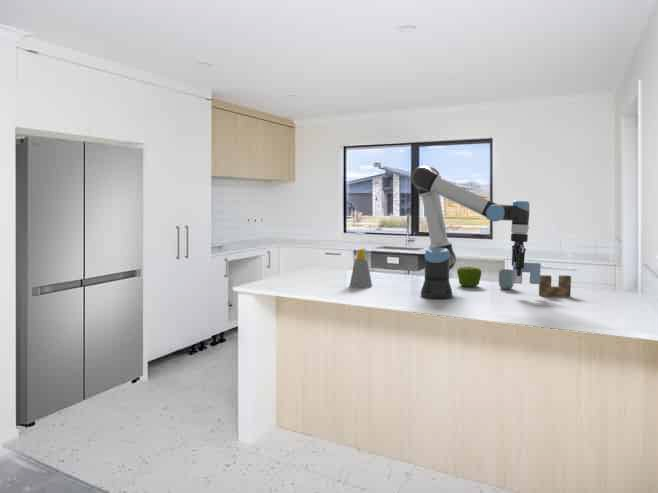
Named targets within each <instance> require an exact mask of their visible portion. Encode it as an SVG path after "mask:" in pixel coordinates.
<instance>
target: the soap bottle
mask: <svg viewBox="0 0 658 493" xmlns="http://www.w3.org/2000/svg"><path fill="white" fill-rule="evenodd" d="M365 250H366V248H362V249H361V248H359V249H358V253H357V255H356V258H355V259H354V263H353V267H352V273H351V276H350V280H349V281H350V282H349V286H352V287H351V288H354V287H359V288H358V289H366V288H365V287H369V288H372V287H373V284H372V277H371V272H370V268H369V267H370V266H369V262H368V259H367V258H366V254H365V253H364V251H365ZM371 286H372V287H371Z"/></svg>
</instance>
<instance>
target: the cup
mask: <svg viewBox="0 0 658 493" xmlns="http://www.w3.org/2000/svg"><path fill="white" fill-rule="evenodd" d="M512 275H513V269H505V268H504V269H503V268H502V269H501V268H500V269H499V270H498V286H499V288H500V289H502V290H511V289H512V288H513V287H514V285H515V283H512Z"/></svg>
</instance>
